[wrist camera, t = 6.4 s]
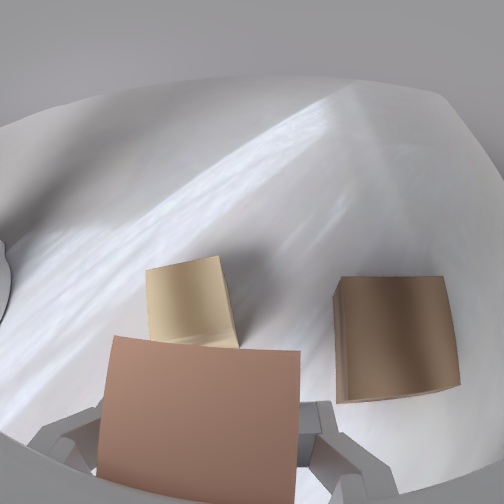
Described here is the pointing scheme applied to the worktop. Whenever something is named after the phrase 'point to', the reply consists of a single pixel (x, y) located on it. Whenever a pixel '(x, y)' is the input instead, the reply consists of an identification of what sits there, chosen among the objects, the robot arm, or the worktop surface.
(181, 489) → the terracotta block
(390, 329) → the walnut block
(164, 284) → the oak cube
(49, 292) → the worktop surface
